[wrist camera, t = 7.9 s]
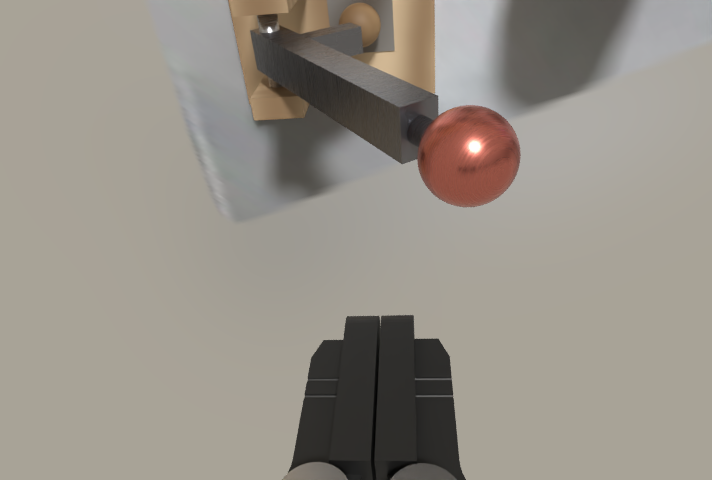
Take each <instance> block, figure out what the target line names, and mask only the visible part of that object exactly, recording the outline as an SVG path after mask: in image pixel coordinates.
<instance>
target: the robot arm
mask: <svg viewBox="0 0 712 480" xmlns="http://www.w3.org/2000/svg"><path fill="white" fill-rule="evenodd" d="M282 480H466V479H465V477H464V475H463V473H462V470H461V467H460V462H459V454H458V442H457V431H456V421H455V410H454V399H453V388H452V379H451V367H450V357H449V355H448V353H447V352H446V350H445V349H444V347H443V345H442V344H441V342H440V341H439V339H414V316H413V315H404V316H403V315H402V316H401V315H398V316H381V328H380V318H379V316H350V317H349V316H347V318H346V323H345V332H344V340H324V341H323V342H322V344H321V345H320V346H319V348H318V349H317V351H316V352H315V353H314V355H313V356H312V358H311V363H310V368H309V374H308V382H307V385H306V390H305V399H304V401H303V407H302V412H301V418H300V423H299V429H298V434H297V440H296V445H295V451H294V456H293V461H292V465H291V467H290V469H289V472H288V474H287V475H286V476H284V478H283V479H282Z"/></svg>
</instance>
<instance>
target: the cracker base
mask: <svg viewBox="0 0 712 480" xmlns="http://www.w3.org/2000/svg"><path fill="white" fill-rule="evenodd" d="M228 2H229V6H230V11H231V16H232V21H233V26H234V31H235V36H236V40H237V45H238V50H239V55H240V60H241V65H242V69H243V74H244V79H245V84H246V89H247V94H248V99H249V103H250V104H251V107H252V112H253V117H254V120H272V119H290V118H304V117H305V114H306V112H307V109H308V106H309V103H308V102H306V101H305V100H303V99H302V98H300V97H298V96H297V95H295V94H294V93H292V92H291V91H289V90H288V89H286V88H285V87H278V88H274V87H270V85H269V80H268V76H266V75H265V74H263V73H262V72H260V71H259V70H257V65H256V60H255V55H254V50H253V44H252V39H251V34H250V30H252V29H257V28H259V25H258V19H257V15H265V14H277V15H278V21H279V25H280V26H283V27H285V28H287V29H289V30H292V31H294V32H296V33H298V34H302V33H306V32H311V31H315V30H319V29H324V28H328V27H332V26H337V25H341V24H346V23H353V24H356V25H359V26H361V31H362V43H363V53H362V54H358V55H354V56H351V57H352V58H354V59H357V60H359V61H361V62H363V63H366V64H368V65H370V66H372V67H375V68H377V69H379V70H381V71H384V72H386V73H388V74H390V75H393V76H395V77H397V78H399V79H401V80H404V81H406V82H408V83H410V84H413V85H415V86H417V87H419V88H422V89H424V90H426V91H428V92H431V93H435V15H434V0H228Z"/></svg>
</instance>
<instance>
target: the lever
mask: <svg viewBox="0 0 712 480" xmlns="http://www.w3.org/2000/svg"><path fill="white" fill-rule="evenodd" d="M257 19H258V25H259V28H257V29H252V30H250V34H251V39H252V44H253V50H254V55H255V60H256V65H257V70H259V71H260V72H262V73H263V74H265V75H266V76H268V80H269V85H270V87H274V88H278V87H285V88H286V89H288V90H289V91H291V92H292V93H294V94H295V95H297V96H298V97H300V98H302V99H303V100H305V101H306V102H308V103H309V104H311V105H312V106H314V107H315V108H317V109H318V110H320V111H321V112H323V113H324V114H326V115H328V116H329V117H331V118H332V119H334V120H335V121H337V122H338V123H340V124H341V125H343V126H344V127H346V128H347V129H349V130H350V131H352V132H354V133H355V134H357V135H358V136H360V137H361V138H363V139H364V140H366V141H367V142H369V143H370V144H372V145H373V146H375V147H377V148H378V149H380V150H381V151H383V152H384V153H386V154H387V155H389V156H390V157H392V158H393V159H395V160H396V161H398V162H399V163H401V164H404V163H407V162H410V161H413V160H415V159H417V160H418V167H419V172H420V175H421V177H422V180H423V181H424V183H425V185H426V186H427V188H428V189H429V190H430V191H431V192H432V193H433V194H434V195H435V196H436V197H438V198H439V199H441V200H442V201H444V202H446V203H448V204H451V205H454V206H459V207H475V206H480V205H484V204H487V203H489V202H491V201H493V200H495V199H496V198H498V197H499V196H500V195H502V194H503V193H504V192H505V191H506V190H507V189H508V187H509V186H510V185H511V184H512V182H513V180H514V179H515V176H516V174H517V171H518V168H519V163H520V145H519V141H518V138H517V136H516V133H515V131H514V130H513V128H512V126H511V125H510V124H509V123H508V121H507V120H506V119H505V118H503V117H502V116H501V115H500V114H498V113H497V112H495V111H493V110H491V109H489V108H485V107H482V106H475V105H466V106H459V107H455V108H452V109H450V110H447V111H446V112H444V113H442V114H441V115H439V116H438V96H437V95H435V94H433V93H431V92H428V91H426V90H424V89H422V88H419V87H417V86H415V85H413V84H410V83H408V82H406V81H404V80H401V79H399V78H397V77H395V76H393V75H390V74H388V73H386V72H384V71H381V70H379V69H377V68H375V67H372V66H370V65H368V64H366V63H363V62H361V61H359V60H357V59H354V58H352V57H351V56H354V55H358V54H362V53H363V43H362V31H361V26H359V25H356V24H353V23H346V24H341V25H337V26H332V27H328V28H324V29H319V30H315V31H311V32H306V33H302V34H298V33H296V32H294V31H292V30H289V29H287V28H285V27H283V26H280V25H279V21H278V15H277V14H265V15H257Z"/></svg>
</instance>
